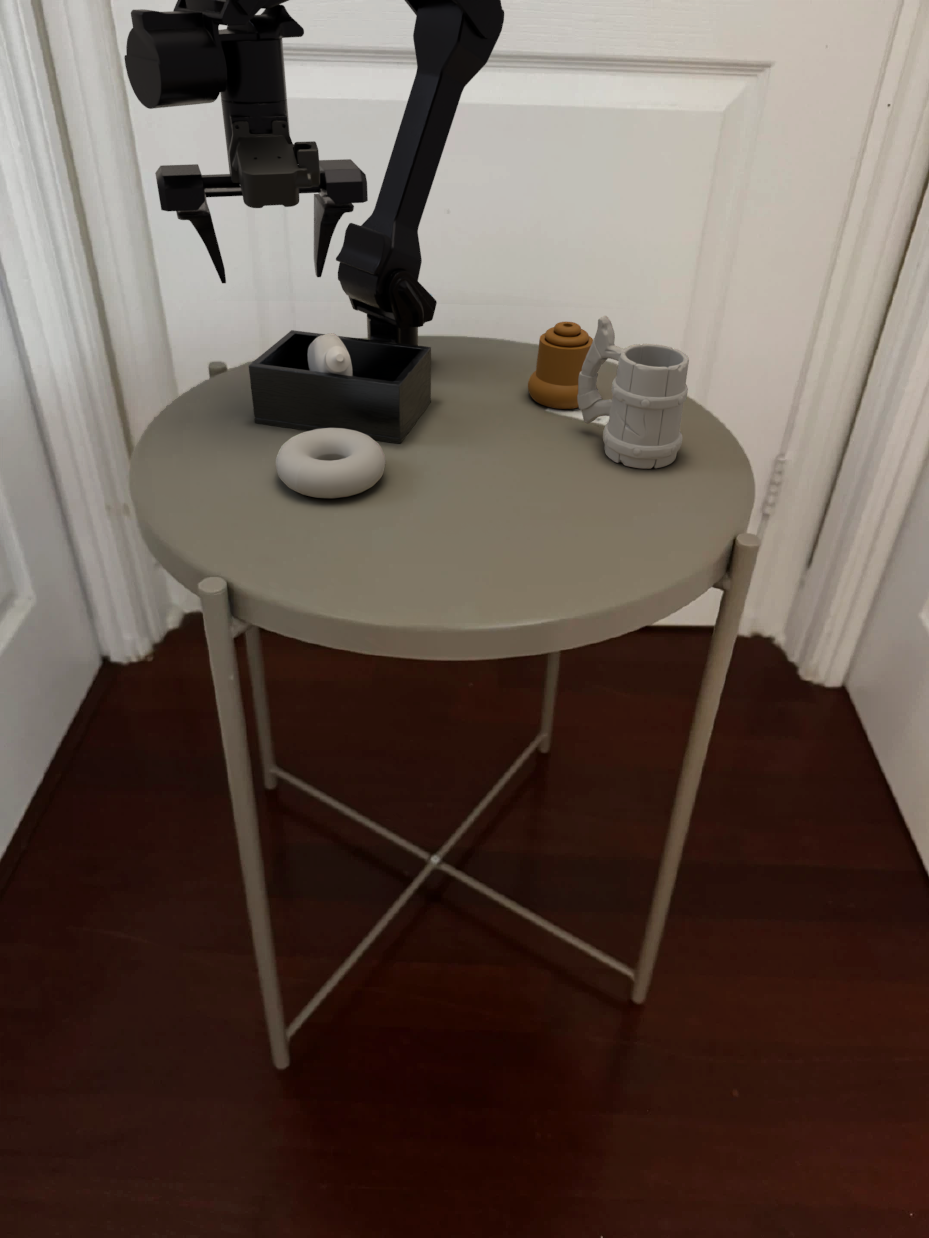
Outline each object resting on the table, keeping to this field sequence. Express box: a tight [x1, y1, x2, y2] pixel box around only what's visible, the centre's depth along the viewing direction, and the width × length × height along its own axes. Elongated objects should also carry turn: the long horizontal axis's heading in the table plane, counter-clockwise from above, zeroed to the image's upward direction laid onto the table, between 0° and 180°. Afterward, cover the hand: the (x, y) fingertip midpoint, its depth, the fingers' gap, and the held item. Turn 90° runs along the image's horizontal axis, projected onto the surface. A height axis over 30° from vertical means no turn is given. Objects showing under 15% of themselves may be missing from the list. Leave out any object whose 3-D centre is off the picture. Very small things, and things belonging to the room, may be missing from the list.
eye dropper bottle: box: [308, 332, 353, 376], centre depth 94 cm, size 4×6×12 cm
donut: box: [274, 428, 387, 499], centre depth 86 cm, size 10×4×10 cm
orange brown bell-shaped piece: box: [527, 321, 598, 410], centre depth 100 cm, size 8×8×8 cm
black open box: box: [248, 329, 432, 445], centre depth 96 cm, size 11×16×6 cm
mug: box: [577, 315, 690, 470], centre depth 90 cm, size 8×12×12 cm, turn 48°
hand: (271, 279), depth 92 cm, fingers open, 9 cm apart
